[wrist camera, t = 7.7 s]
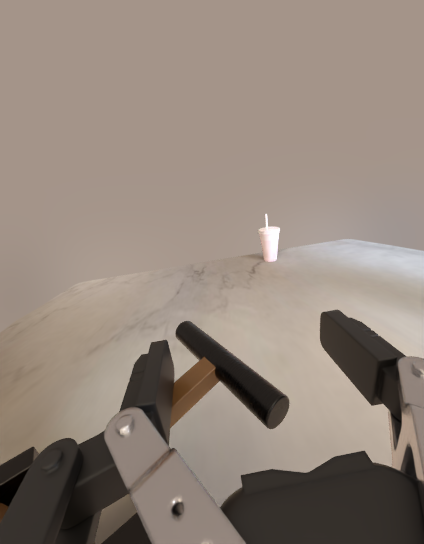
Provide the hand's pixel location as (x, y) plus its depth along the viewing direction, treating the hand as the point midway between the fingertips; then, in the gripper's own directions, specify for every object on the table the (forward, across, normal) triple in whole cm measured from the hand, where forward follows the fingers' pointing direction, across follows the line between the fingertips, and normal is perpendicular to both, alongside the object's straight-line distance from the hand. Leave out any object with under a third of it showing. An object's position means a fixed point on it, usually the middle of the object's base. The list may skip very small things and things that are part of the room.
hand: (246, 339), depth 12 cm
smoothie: (+56, +20, -16) cm, 61 cm away
